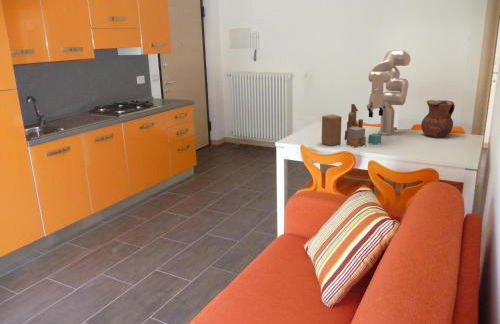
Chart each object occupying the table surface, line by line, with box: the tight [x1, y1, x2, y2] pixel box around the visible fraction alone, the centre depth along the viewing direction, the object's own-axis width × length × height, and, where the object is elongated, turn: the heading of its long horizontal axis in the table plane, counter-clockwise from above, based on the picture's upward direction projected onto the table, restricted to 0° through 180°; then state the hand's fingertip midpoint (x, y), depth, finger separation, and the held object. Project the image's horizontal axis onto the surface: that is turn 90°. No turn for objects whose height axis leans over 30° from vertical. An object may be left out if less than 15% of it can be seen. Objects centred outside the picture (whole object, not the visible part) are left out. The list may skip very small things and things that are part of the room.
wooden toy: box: [344, 103, 364, 140], centre depth 297 cm, size 15×7×25 cm, turn 138°
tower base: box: [345, 136, 367, 148], centre depth 280 cm, size 9×9×6 cm
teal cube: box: [368, 133, 382, 145], centre depth 284 cm, size 6×6×6 cm
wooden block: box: [321, 114, 342, 147], centre depth 284 cm, size 10×10×20 cm
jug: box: [421, 99, 455, 138], centre depth 296 cm, size 22×21×25 cm
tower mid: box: [348, 127, 366, 139], centre depth 279 cm, size 8×8×6 cm
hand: (375, 116), depth 279 cm, fingers open, 9 cm apart
